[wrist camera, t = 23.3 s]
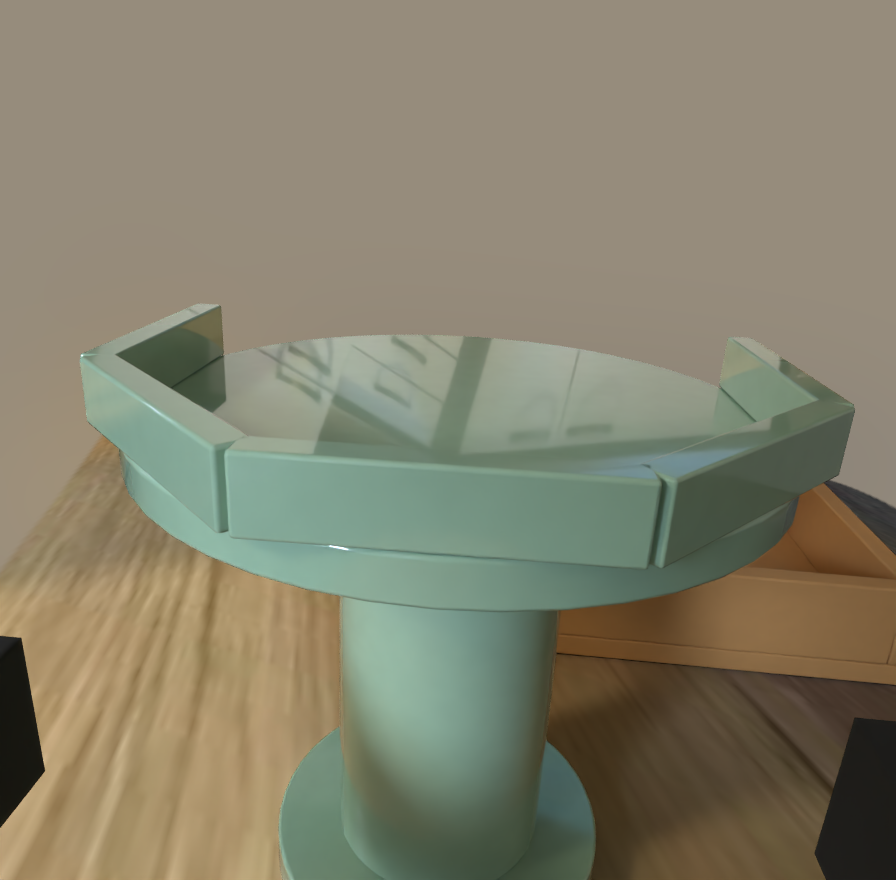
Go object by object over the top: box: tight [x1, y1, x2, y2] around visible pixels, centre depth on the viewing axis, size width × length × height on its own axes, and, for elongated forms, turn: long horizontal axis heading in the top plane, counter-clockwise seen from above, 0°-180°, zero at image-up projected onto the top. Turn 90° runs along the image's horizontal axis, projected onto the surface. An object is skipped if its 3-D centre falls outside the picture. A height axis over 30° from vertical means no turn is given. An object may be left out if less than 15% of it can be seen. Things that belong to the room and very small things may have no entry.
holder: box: [557, 483, 896, 685], centre depth 32 cm, size 20×13×4 cm, turn 85°
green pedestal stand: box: [80, 304, 855, 880], centre depth 17 cm, size 13×13×13 cm
